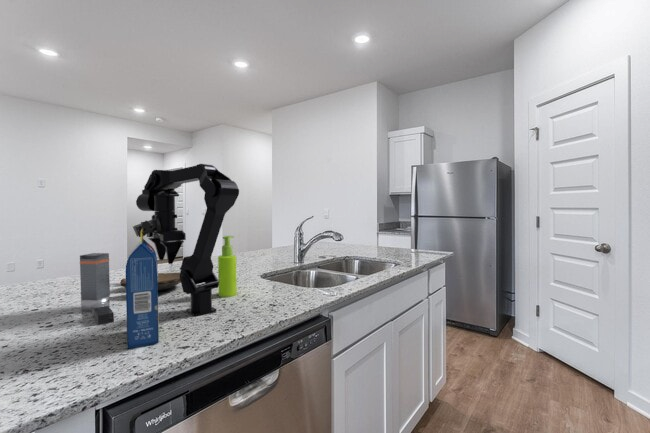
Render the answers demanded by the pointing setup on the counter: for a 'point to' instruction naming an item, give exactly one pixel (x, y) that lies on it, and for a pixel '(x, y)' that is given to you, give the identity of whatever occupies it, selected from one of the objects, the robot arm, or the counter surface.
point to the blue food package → (142, 296)
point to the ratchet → (99, 310)
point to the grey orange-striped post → (94, 276)
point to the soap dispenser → (227, 270)
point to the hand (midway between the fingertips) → (165, 261)
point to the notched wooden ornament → (163, 280)
